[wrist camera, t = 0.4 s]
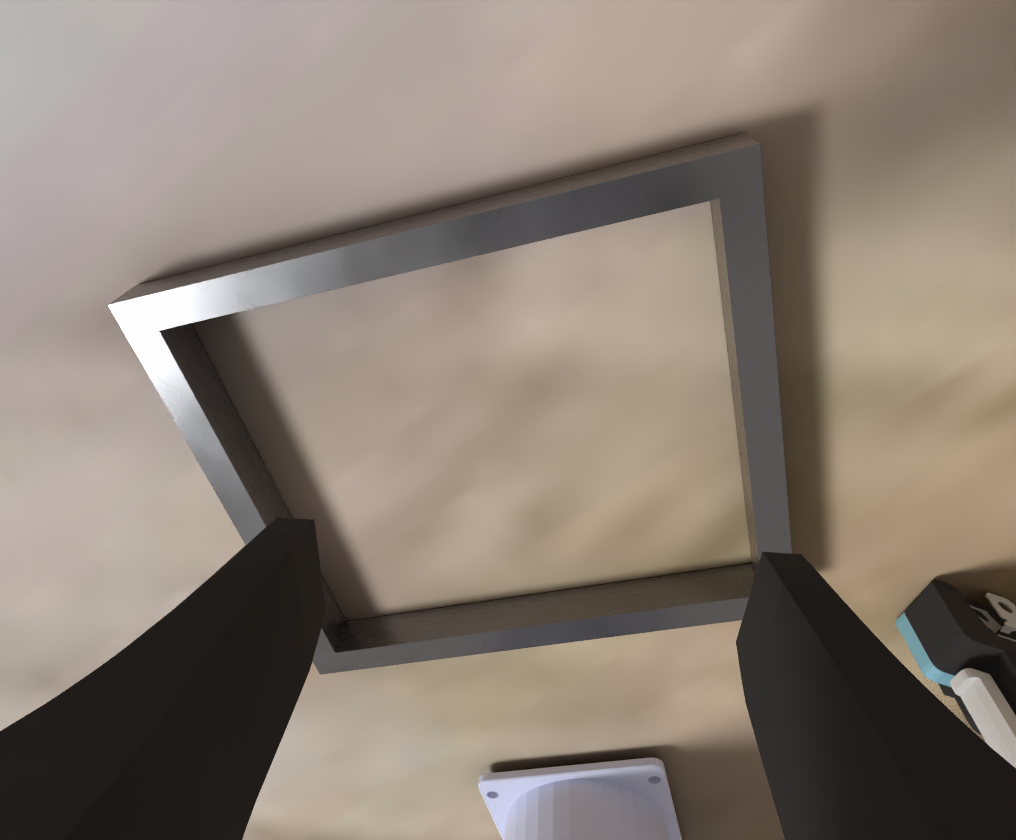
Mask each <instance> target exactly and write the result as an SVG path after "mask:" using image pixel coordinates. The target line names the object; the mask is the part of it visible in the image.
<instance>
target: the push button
mask: <svg viewBox="0 0 1016 840" xmlns="http://www.w3.org/2000/svg"><path fill="white" fill-rule="evenodd" d="M985 597H986V599H987V600H988V602H989V603H990V604H991V606H992V607H993V608H990V607H987V606H984V605H981V604H978V603H975V602H972V601H969V600H966V599H964V598H963V597H962V596H961V594H960V593H959V592H958V591H957V590H956V589H955V588H954V587H952V586H951V585H949V584H947V583H944V582H941V581H938V580H933V581H932V582H931V583H930V584H929V585H928V586H927V587H926V589H925V590H924V591H923V592H922V593H921V594H920V595H919V596H918V597H917V598H916V599H915V600H914V601H913V602H912V604H911V605H910V606H909V607H908V608H907V609H906V610H905V611H904V612H903V614H902V615H901V616H900V617H899V618H898V619H897V620H896V621H895V623H896V626H897V628H898V630H899V632H901V634H902V635H903V637H904V639H905V641H906V643H907V645H908V647H909V649H910V651H911V653H912V654H913V656H914V658H915V660H916V662H917V664H918V666H919V668H920V670H921V671H922V673H923V674H924V675H925V676H926V677H927V678H928V679H929V680H931V681H933V682H936V683H938V684H939V686H940V688H941V690H942V692H943V693H944V695H946V696H949V697H953V698H955V700H956V701H957V703H958V705H959V707H960V709H961V711H962V712H963V714H964V716H965V718H966V719H967V721H968V723H969V724H970V726H971V727H972V728H973V729H974V730H975V731H976V732H978V733H979V734H981V735H982V736H983V738H984V740H985V741H986V743H987V744H988V745H989V746H990V747H991V748H992V749H993V750H995V751H996V752H997V753H998V754H999V755H1001V756H1002V757H1003V758H1004V759H1005V760H1006V761H1008V762H1009V763H1010V764H1011V765H1012V766H1014V767H1015V768H1016V606H1015V605H1014V604H1013V603H1012V602H1011V601H1009V600H1008V599H1006V598H1003V597H1000V596H997V595H994V594H991V593H987V594H986V595H985ZM998 603H1001V604H1003V605H1005V606H1006V607H1007V608H1009V610H1010V611H1011V613H1009V612H1007V611H1005V610H1004V609H1003V608H1001V606H1000V605H999V604H998Z"/></svg>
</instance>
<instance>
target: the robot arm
mask: <svg viewBox="0 0 1016 840" xmlns="http://www.w3.org/2000/svg"><path fill="white" fill-rule="evenodd" d="M325 613H326V608H325V600H324V593H323V585H322V577H321V570H320V562H319V554H318V547H317V539H316V531H315V524H314V520H308V519H294V518H280V517H277V518H276V519H275V520H273V521H272V522H271V523H270V524H269V525H268V526H267V527H265V528H264V529H263V530H262V531H261V532H260V533H259V534H258V535H256V536H255V537H254V538H253V539H252V540H251V541H250V542H249V543H248V544H247V545H246V546H244V547H243V548H242V549H241V550H240V551H239V552H238V553H237V554H236V555H235V556H233V557H232V558H231V559H230V560H229V561H228V562H227V563H226V564H225V565H224V566H222V567H221V568H220V569H219V570H218V571H217V572H216V573H215V574H214V575H212V576H211V577H210V578H209V579H208V580H207V581H206V582H204V583H203V584H202V585H201V586H200V587H199V588H198V589H196V590H195V591H194V592H193V593H192V594H191V595H189V596H188V597H187V598H186V599H185V600H184V601H183V602H181V603H180V604H179V605H178V606H177V607H176V608H174V609H173V610H172V611H171V612H170V613H168V614H167V615H166V616H165V617H163V618H162V619H161V620H160V621H158V622H157V623H156V624H155V625H153V626H152V627H151V628H150V629H148V630H147V631H146V632H145V633H143V634H142V635H141V636H140V637H138V638H137V639H136V640H135V641H133V642H132V643H131V644H130V645H128V646H127V647H126V648H125V649H123V650H122V651H121V652H119V653H118V654H117V655H115V656H114V657H113V658H111V659H110V660H109V661H107V662H106V663H104V664H103V665H102V666H100V667H99V668H97V669H96V670H95V671H93V672H92V673H90V674H89V675H87V676H86V677H85V678H83V679H82V680H80V681H79V682H77V683H76V684H74V685H73V686H71V687H70V688H68V689H67V690H65V691H64V692H63V693H61V694H60V695H58V696H57V697H55V698H54V699H52V700H50V701H49V702H47V703H46V704H44V705H43V706H41V707H39V708H38V709H36V710H35V711H33V712H31V713H30V714H28V715H26V716H25V717H23V718H21V719H20V720H18V721H16V722H15V723H13V724H11V725H10V726H8V727H7V728H5V729H3V730H2V731H0V840H242V838H243V835H244V832H245V829H246V826H247V824H248V821H249V818H250V816H251V813H252V810H253V807H254V805H255V802H256V799H257V797H258V795H259V792H260V790H261V787H262V785H263V783H264V780H265V778H266V775H267V773H268V770H269V768H270V766H271V763H272V761H273V758H274V756H275V754H276V751H277V749H278V746H279V744H280V741H281V739H282V737H283V734H284V732H285V729H286V727H287V725H288V722H289V720H290V717H291V715H292V712H293V710H294V708H295V705H296V703H297V700H298V698H299V695H300V693H301V690H302V688H303V685H304V683H305V680H306V678H307V675H308V673H309V670H310V667H311V664H312V660H313V657H314V653H315V650H316V646H317V643H318V639H319V635H320V632H321V628H322V624H323V620H324V616H325ZM736 645H737V651H738V658H739V665H740V672H741V678H742V684H743V689H744V695H745V701H746V705H747V709H748V713H749V716H750V720H751V723H752V727H753V730H754V734H755V737H756V741H757V744H758V748H759V751H760V755H761V758H762V761H763V765H764V768H765V772H766V775H767V778H768V782H769V785H770V789H771V792H772V795H773V799H774V802H775V806H776V809H777V812H778V816H779V819H780V823H781V826H782V829H783V833H784V836H785V840H1016V768H1015V767H1014V766H1012V765H1011V764H1010V763H1009V762H1008V761H1006V760H1005V759H1004V758H1003V757H1002V756H1001V755H999V754H998V753H997V752H996V751H995V750H993V749H992V748H991V747H990V746H989V745H988V744H986V743H985V742H984V741H983V740H982V739H981V738H980V737H978V736H977V735H976V734H975V733H974V732H973V731H972V730H971V729H969V728H968V727H967V726H966V725H965V724H964V723H963V722H962V721H961V720H960V719H959V718H957V717H956V716H955V715H954V714H953V713H952V712H951V711H950V710H949V709H948V708H947V707H946V706H945V705H944V704H943V703H942V702H941V701H940V700H939V699H938V698H936V697H935V696H934V695H933V694H932V693H931V692H930V691H929V690H928V689H927V688H926V687H925V686H924V685H923V684H922V683H921V682H920V681H919V680H918V679H917V678H916V677H915V676H914V675H913V674H912V673H911V672H910V671H909V670H908V669H907V668H906V667H905V666H904V665H903V664H902V663H901V662H900V661H899V660H898V659H897V658H896V657H895V656H894V655H893V654H892V653H891V652H890V651H889V650H888V649H887V648H886V646H885V645H884V644H883V643H882V642H881V641H880V640H879V639H878V638H877V637H876V636H875V635H874V634H873V633H872V632H871V631H870V629H869V628H868V627H867V626H866V625H865V624H864V623H863V622H862V621H861V620H860V619H859V618H858V616H857V615H856V614H855V613H854V612H853V611H852V610H851V609H850V608H849V607H848V605H847V604H846V603H845V602H844V601H843V600H842V599H841V598H840V597H839V595H838V594H837V593H836V592H835V591H834V590H833V589H832V588H831V587H830V585H829V584H828V583H827V582H826V581H825V580H824V579H823V578H822V576H821V575H820V574H819V573H818V572H817V571H816V570H815V569H814V568H813V566H812V565H811V564H810V563H809V562H808V561H807V560H806V559H805V558H804V557H803V556H802V555H801V554H789V553H775V552H762V554H761V558H760V561H759V565H758V568H757V571H756V575H755V578H754V582H753V585H752V589H751V592H750V596H749V599H748V603H747V606H746V609H745V613H744V616H743V620H742V623H741V627H740V630H739V634H738V637H737V640H736ZM478 787H479V790H480V792H481V794H482V796H483V799H484V801H485V803H486V805H487V807H488V809H489V812H490V814H491V816H492V818H493V820H494V822H495V824H496V827H497V829H498V831H499V833H500V835H501V837H502V839H503V840H682V837H681V833H680V829H679V825H678V821H677V817H676V813H675V808H674V804H673V800H672V796H671V792H670V788H669V784H668V780H667V775H666V771H665V767H664V764H663V762H662V761H661V760H659V759H657V758H640V759H630V760H619V761H609V762H599V763H589V764H578V765H568V766H558V767H547V768H537V769H527V770H517V771H506V772H496V773H487V774H483V775H482V776H480V778H479V783H478Z"/></svg>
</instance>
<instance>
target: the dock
mask: <svg viewBox="0 0 1016 840" xmlns="http://www.w3.org/2000/svg"><path fill="white" fill-rule="evenodd" d="M706 201H710V202H711V211H712V220H713V228H714V237H715V246H716V254H717V263H718V272H719V280H720V289H721V298H722V306H723V315H724V324H725V332H726V341H727V350H728V358H729V367H730V376H731V384H732V393H733V402H734V410H735V419H736V428H737V436H738V445H739V454H740V462H741V471H742V480H743V488H744V497H745V506H746V514H747V523H748V532H749V540H750V549H751V558H752V563H751V564H744V565H737V566H730V567H723V568H716V569H709V570H702V571H695V572H688V573H681V574H674V575H667V576H660V577H653V578H646V579H639V580H632V581H625V582H618V583H611V584H604V585H597V586H590V587H583V588H576V589H569V590H562V591H555V592H548V593H541V594H534V595H527V596H520V597H513V598H506V599H499V600H492V601H485V602H478V603H471V604H464V605H457V606H450V607H443V608H436V609H429V610H422V611H415V612H408V613H402V614H395V615H388V616H381V617H374V618H367V619H360V620H353V621H345V619H344V617H343V615H342V613H341V611H340V609H339V607H338V606H337V604H336V602H335V600H334V598H333V596H332V594H331V592H330V590H329V588H328V586H327V584H326V582H325V581H324V579H323V577H322V575H321V577H322V585H323V593H324V600H325V608H326V613H325V616H324V620H323V624H322V628H321V632H320V635H319V639H318V643H317V646H316V650H315V653H314V657H313V660H312V661H313V663H314V664H315V666H316V668H317V670H318V671H319V673H320V674H328V673H336V672H343V671H351V670H359V669H367V668H374V667H382V666H390V665H398V664H405V663H413V662H421V661H428V660H436V659H444V658H452V657H459V656H467V655H475V654H483V653H490V652H498V651H506V650H513V649H521V648H529V647H537V646H544V645H552V644H560V643H568V642H575V641H583V640H591V639H598V638H606V637H614V636H622V635H629V634H637V633H645V632H653V631H660V630H668V629H676V628H683V627H691V626H699V625H707V624H714V623H722V622H730V621H738V620H743V616H744V613H745V609H746V606H747V603H748V599H749V596H750V592H751V589H752V585H753V582H754V578H755V575H756V571H757V568H758V565H759V561H760V558H761V554H762V552H775V553H789V554H792V548H791V535H790V522H789V509H788V496H787V483H786V471H785V458H784V445H783V432H782V419H781V406H780V393H779V381H778V368H777V355H776V342H775V329H774V316H773V304H772V291H771V278H770V265H769V252H768V239H767V226H766V214H765V201H764V188H763V175H762V162H761V149H760V143H758V142H757V141H756V140H755V139H753V138H752V137H751V136H750V135H748V134H747V133H746V132H744V133H740V134H736V135H732V136H728V137H724V138H720V139H716V140H712V141H708V142H704V143H700V144H696V145H692V146H688V147H685V148H681V149H677V150H673V151H669V152H665V153H661V154H657V155H653V156H649V157H645V158H641V159H637V160H633V161H629V162H625V163H621V164H617V165H613V166H609V167H605V168H601V169H597V170H593V171H589V172H585V173H581V174H577V175H573V176H569V177H565V178H561V179H557V180H553V181H549V182H545V183H541V184H537V185H533V186H529V187H525V188H521V189H517V190H513V191H509V192H505V193H501V194H497V195H493V196H489V197H485V198H481V199H477V200H473V201H469V202H465V203H461V204H457V205H454V206H450V207H446V208H442V209H438V210H434V211H430V212H426V213H422V214H418V215H414V216H410V217H406V218H402V219H398V220H394V221H390V222H386V223H382V224H378V225H374V226H370V227H366V228H362V229H358V230H354V231H350V232H346V233H342V234H338V235H334V236H330V237H326V238H322V239H318V240H314V241H310V242H306V243H302V244H298V245H294V246H290V247H286V248H282V249H278V250H274V251H270V252H266V253H262V254H258V255H254V256H250V257H246V258H242V259H238V260H234V261H230V262H226V263H222V264H219V265H215V266H211V267H207V268H203V269H199V270H195V271H191V272H187V273H183V274H179V275H175V276H171V277H167V278H163V279H159V280H155V281H151V282H147V283H143V284H139V285H136V286H134V287H133V288H132V289H130V290H129V291H127V292H126V293H124V294H123V295H122V296H120V297H119V298H117V299H116V300H115V301H113V302H112V303H110V304H109V305H108V306H109V308H110V309H111V311H112V313H113V315H114V316H115V318H116V320H117V322H118V323H119V325H120V327H121V329H122V330H123V332H124V334H125V335H126V337H127V339H128V341H129V342H130V344H131V346H132V348H133V349H134V351H135V353H136V355H137V356H138V358H139V360H140V362H141V363H142V365H143V367H144V369H145V370H146V372H147V374H148V376H149V377H150V379H151V381H152V382H153V384H154V386H155V388H156V389H157V391H158V393H159V395H160V396H161V398H162V400H163V402H164V403H165V405H166V407H167V409H168V410H169V412H170V414H171V416H172V417H173V419H174V421H175V423H176V424H177V426H178V428H179V429H180V431H181V433H182V435H183V436H184V438H185V440H186V442H187V443H188V445H189V447H190V449H191V450H192V452H193V454H194V456H195V457H196V459H197V461H198V463H199V464H200V466H201V468H202V469H203V471H204V473H205V475H206V476H207V478H208V480H209V482H210V483H211V485H212V487H213V489H214V490H215V492H216V494H217V496H218V497H219V499H220V501H221V503H222V504H223V506H224V508H225V510H226V511H227V513H228V515H229V516H230V518H231V520H232V522H233V523H234V525H235V527H236V529H237V530H238V532H239V534H240V536H241V537H242V539H243V541H244V543H245V544H246V545H247V544H248V543H249V542H250V541H251V540H252V539H253V538H254V537H255V536H256V535H258V534H259V533H260V532H261V531H262V530H263V529H264V528H265V527H267V526H268V525H269V524H270V523H271V522H272V521H273V520H275V519H276V518H277V517H280V518H292V517H291V515H290V513H289V511H288V509H287V507H286V505H285V504H284V502H283V500H282V498H281V496H280V494H279V492H278V490H277V488H276V486H275V484H274V482H273V480H272V479H271V477H270V475H269V473H268V471H267V469H266V467H265V465H264V463H263V461H262V459H261V457H260V455H259V454H258V452H257V450H256V448H255V446H254V444H253V442H252V440H251V438H250V436H249V434H248V432H247V430H246V429H245V427H244V425H243V423H242V421H241V419H240V417H239V415H238V413H237V411H236V409H235V407H234V405H233V404H232V402H231V400H230V398H229V396H228V394H227V392H226V390H225V388H224V386H223V384H222V382H221V380H220V378H219V377H218V375H217V373H216V371H215V369H214V367H213V365H212V363H211V361H210V359H209V357H208V355H207V353H206V352H205V350H204V348H203V346H202V344H201V342H200V340H199V338H198V336H197V334H196V332H195V330H194V328H193V327H192V325H191V323H194V322H198V321H202V320H207V319H211V318H215V317H219V316H223V315H228V314H232V313H236V312H240V311H245V310H249V309H253V308H257V307H262V306H266V305H270V304H274V303H279V302H283V301H287V300H291V299H296V298H300V297H304V296H308V295H312V294H317V293H321V292H325V291H329V290H334V289H338V288H342V287H346V286H351V285H355V284H359V283H363V282H368V281H372V280H376V279H380V278H384V277H389V276H393V275H397V274H401V273H406V272H410V271H414V270H418V269H423V268H427V267H431V266H435V265H440V264H444V263H448V262H452V261H456V260H461V259H465V258H469V257H473V256H478V255H482V254H486V253H490V252H495V251H499V250H503V249H507V248H512V247H516V246H520V245H524V244H528V243H533V242H537V241H541V240H545V239H550V238H554V237H558V236H562V235H567V234H571V233H575V232H579V231H584V230H588V229H592V228H596V227H600V226H605V225H609V224H613V223H617V222H622V221H626V220H630V219H634V218H639V217H643V216H647V215H651V214H656V213H660V212H664V211H668V210H673V209H677V208H681V207H685V206H689V205H694V204H698V203H702V202H706Z"/></svg>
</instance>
